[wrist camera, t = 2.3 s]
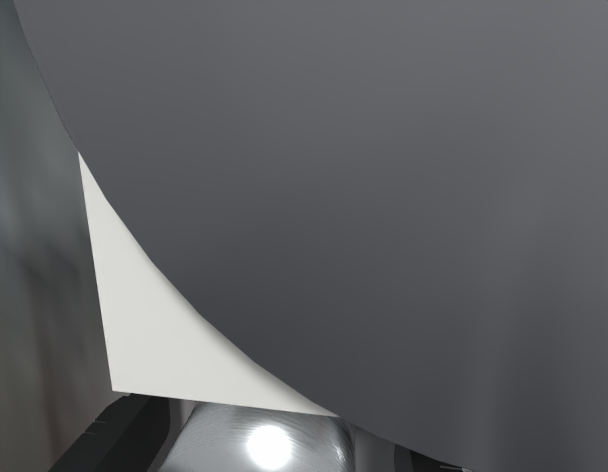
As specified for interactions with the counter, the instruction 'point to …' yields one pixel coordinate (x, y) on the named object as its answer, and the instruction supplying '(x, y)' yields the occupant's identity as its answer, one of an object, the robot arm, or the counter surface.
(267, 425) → the steel spacer
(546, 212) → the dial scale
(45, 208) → the counter surface
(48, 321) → the counter surface
